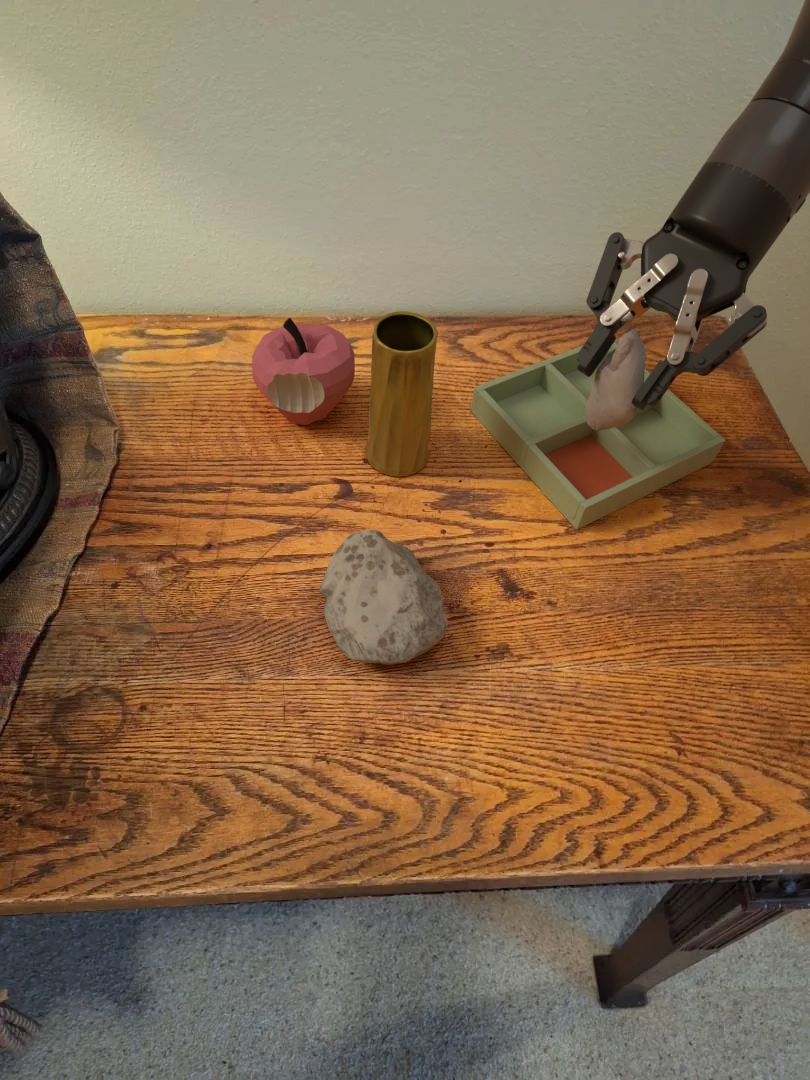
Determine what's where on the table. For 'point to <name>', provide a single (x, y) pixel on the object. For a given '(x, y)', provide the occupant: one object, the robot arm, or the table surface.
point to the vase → (401, 393)
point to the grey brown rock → (617, 384)
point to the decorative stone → (381, 601)
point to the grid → (589, 439)
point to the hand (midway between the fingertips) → (610, 388)
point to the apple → (303, 370)
